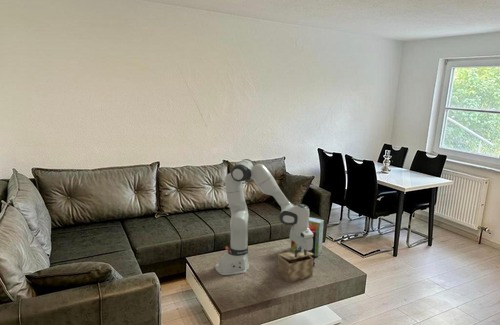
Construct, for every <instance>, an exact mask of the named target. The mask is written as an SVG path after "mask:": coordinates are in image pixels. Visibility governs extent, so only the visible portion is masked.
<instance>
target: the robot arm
mask: <svg viewBox="0 0 500 325" xmlns="http://www.w3.org/2000/svg"><path fill="white" fill-rule="evenodd" d="M250 179H252V180H253V182H254V183H255V184H256V186H257V188H258V189H259V190H260V192H262V194H264V195H268V196H272V197H273V198H274V199H275V201H276V202H277V204H278V205H279V206H280V209H281V211H280V213H279V216H278V219H279V221H280V223H281V224H283V225H285V226H291V227H290V228H291V229H289V230H290V231H289V239H290V240H292V241H294V242H295V243H296V247H297V248H296V249H297V250H300V252H301V253H303V252H304V249H305V250H307V251H308V250H312V248H313V238H312V237H313V236H314V235H313V233H312V232H311V230H310V229H309V224H308V222H309V217H310V208H309V206H308V205H306V204H304V203H297V204H296V205H295V204H294V203H292V202H291V201H290V200H289V199H288V197H286V195H285V193H284V192H283V191H282V190H281V188H280V186H279V185H278V183H277V181H276V179H275V177H274V176H273V175H272V173H271V172H270V171H269V169H268V168H267V167H266V166H265V165H264V164H262V163H257V164H255V162H254V161H252V160H251V159H249V158H245V159H241V160H240V161H238V162H237V163H236V164H235V165H234V166H233V167H232V168H231V171H230V172H229V173H227V174H226V175H225V177H224V187H225V188H224V189H225V194H226V195H225V196H226V199H227V200H226V201H227V204H228V207H229V210H230V213H231V214H230V215H231V216H230V220H229V224H230V226H229V227H230V228H229V229H230V230H229V231H230V246H225V250H226V251H227V252H226V253H224V255H222V256H220V258H219V260H218V263H216V264H215V266H214V269H215V271H216V272H217V273H218V274H220V275H222V276H229V275H237V274H246V273H247V271H248V270H249V269H250V264H249V260H248V259H249V258H248V254H249V252H248V251H249V246H248V241H249V240H248V237H249V235H248V230H249V229H248V227H249V226H248V224H249V215H250V214H249V211H248V206H247V203H246V198H245V193H244V186H243V182H245V181H249V180H250ZM292 225H293V226H292ZM299 245H300V246H301V249H300V247H299Z"/></svg>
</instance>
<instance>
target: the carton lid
mask: <svg viewBox="0 0 500 325" xmlns="http://www.w3.org/2000/svg"><path fill="white" fill-rule="evenodd" d="M278 255H279V256H282V257H284V258H286V259H288V260H292V259H296V258H301V257H305V256H310V255H314V254H313V253H310V252H308V251H307V250H305V249H304V252H303V253H301V252H300V250H295V251H293V250H291V251H287V252H283V253H282V252H281V253H279V254H278ZM278 255H277V256H278Z"/></svg>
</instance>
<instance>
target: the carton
mask: <svg viewBox="0 0 500 325" xmlns="http://www.w3.org/2000/svg"><path fill="white" fill-rule="evenodd" d="M277 258H278V259H277V273H278V274H279V275H280V276H281V277H282V278H284V280H285V281H286V282H288V283H290V282H295V281H299V280H302V279H306V278H310V277H313V273H314V266H313V261H314V262H315V258H314V259H313V258H312V257H311V256H305V257H301V258H296V259H292V260H288V259H286V258H284V257H282V256H279V255H277Z"/></svg>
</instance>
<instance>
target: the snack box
mask: <svg viewBox="0 0 500 325" xmlns="http://www.w3.org/2000/svg"><path fill="white" fill-rule="evenodd" d="M324 222H325V221H324V219H320V218H316V217H315V218H314V217H310V216H309V222H308V223H309V224H310V225H311V226H313V227H314V228H315V229H316V239H315V256H314V257H316V258H318V257H319V256H320V255H321V254H322V253H323V252H322V251H323V238H324V235H323V234H324ZM292 226H293V225H291V227H292ZM290 240H291V239H290ZM290 250H291V251H295V250H296V243H295V242H294V241H292V240H291V241H290Z"/></svg>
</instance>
